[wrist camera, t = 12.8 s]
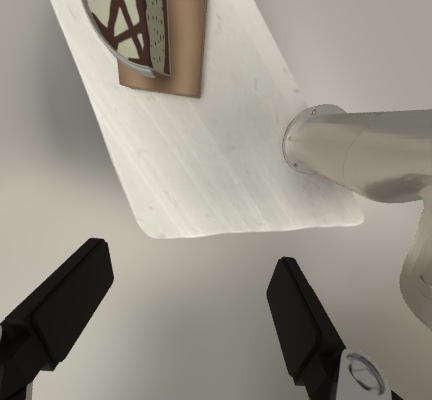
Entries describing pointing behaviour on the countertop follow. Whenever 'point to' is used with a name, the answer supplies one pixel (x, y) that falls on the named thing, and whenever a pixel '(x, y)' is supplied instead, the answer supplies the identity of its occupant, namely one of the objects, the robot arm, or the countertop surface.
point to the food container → (134, 32)
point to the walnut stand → (177, 53)
